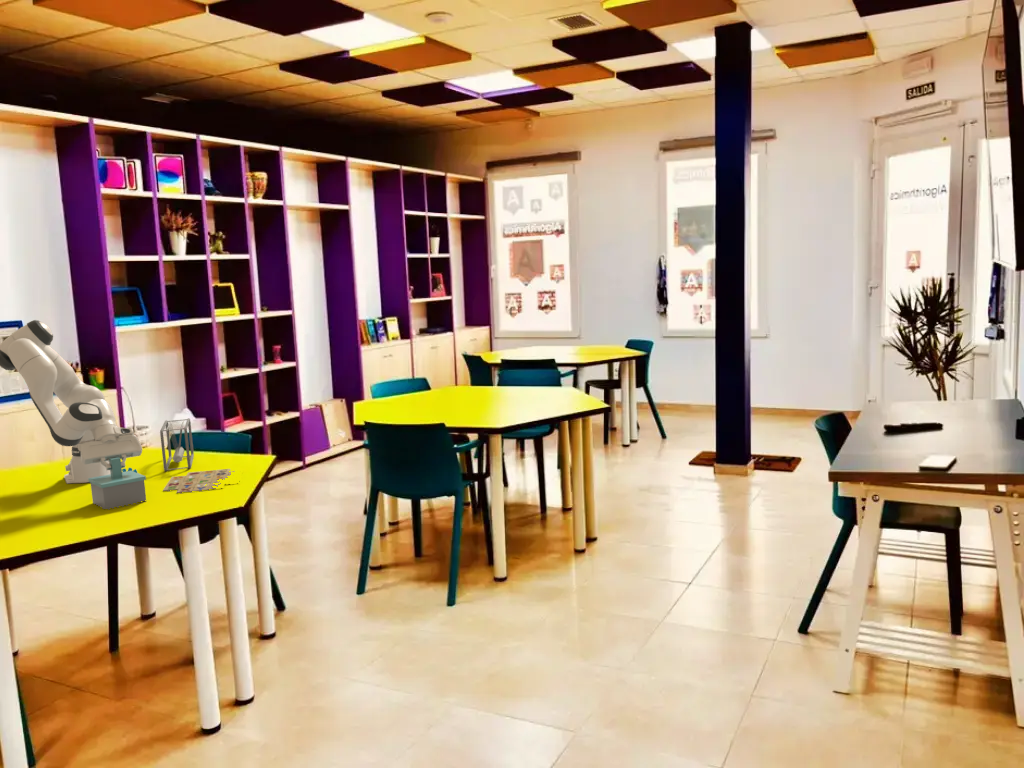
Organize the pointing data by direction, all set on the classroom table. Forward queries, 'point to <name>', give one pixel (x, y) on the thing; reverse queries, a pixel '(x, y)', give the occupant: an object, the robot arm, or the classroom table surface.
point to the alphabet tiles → (197, 481)
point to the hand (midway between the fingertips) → (116, 467)
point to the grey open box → (118, 494)
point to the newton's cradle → (179, 450)
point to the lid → (116, 476)
